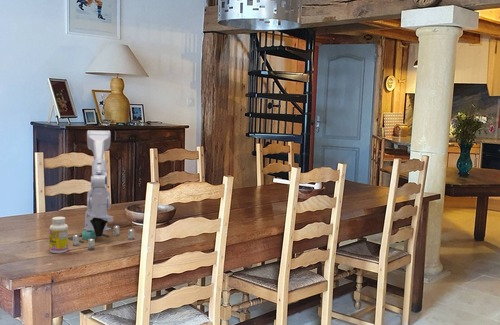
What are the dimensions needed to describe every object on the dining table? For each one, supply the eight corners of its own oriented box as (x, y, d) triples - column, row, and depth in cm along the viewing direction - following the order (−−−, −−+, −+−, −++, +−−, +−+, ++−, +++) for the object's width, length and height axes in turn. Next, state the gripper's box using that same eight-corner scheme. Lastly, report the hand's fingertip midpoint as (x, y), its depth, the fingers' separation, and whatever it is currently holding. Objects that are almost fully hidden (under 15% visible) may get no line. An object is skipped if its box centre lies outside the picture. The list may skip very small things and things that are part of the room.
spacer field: (71, 245, 210) (71, 235, 210) (116, 234, 230) (116, 225, 229) (90, 250, 204) (90, 240, 204) (135, 238, 224) (135, 229, 223)
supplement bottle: (46, 250, 202) (46, 217, 200) (63, 247, 206) (63, 215, 205) (54, 254, 197) (54, 220, 196) (71, 251, 202) (71, 218, 200)
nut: (79, 238, 221) (79, 231, 221) (89, 236, 226) (90, 228, 226) (88, 240, 218) (88, 233, 218) (98, 238, 223) (98, 231, 223)
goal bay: (67, 239, 219) (67, 237, 219) (94, 233, 231) (94, 231, 231) (82, 243, 214) (82, 241, 214) (109, 236, 226) (109, 235, 225)
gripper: (79, 202, 218) (79, 235, 219) (103, 207, 210) (103, 241, 211) (93, 200, 224) (93, 232, 225) (117, 205, 216) (116, 237, 217)
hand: (99, 236), depth 219 cm, fingers closed
